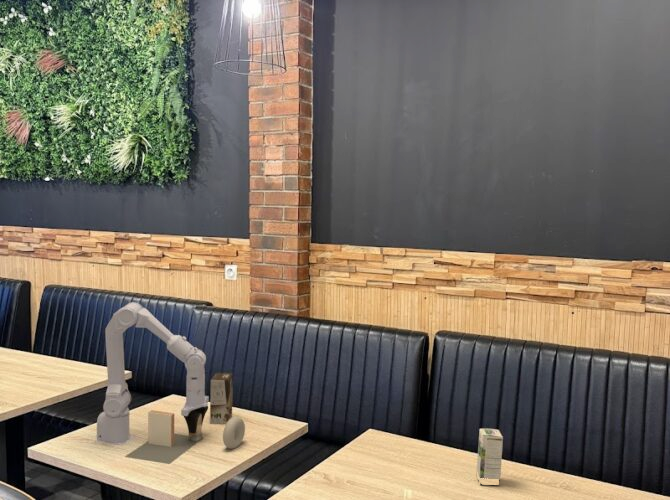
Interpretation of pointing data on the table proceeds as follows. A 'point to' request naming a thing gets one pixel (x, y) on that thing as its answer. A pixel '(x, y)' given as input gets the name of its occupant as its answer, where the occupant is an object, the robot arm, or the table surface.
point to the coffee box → (221, 398)
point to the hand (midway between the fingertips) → (195, 430)
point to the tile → (161, 428)
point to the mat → (163, 450)
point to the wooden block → (197, 431)
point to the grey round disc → (233, 432)
